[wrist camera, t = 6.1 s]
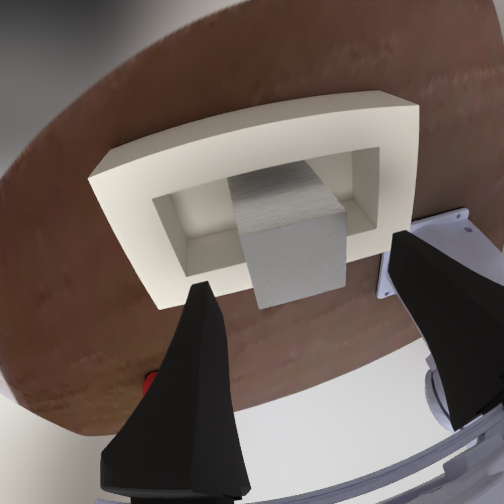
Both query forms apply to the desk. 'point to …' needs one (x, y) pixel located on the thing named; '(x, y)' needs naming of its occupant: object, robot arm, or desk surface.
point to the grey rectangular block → (289, 232)
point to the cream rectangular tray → (246, 160)
